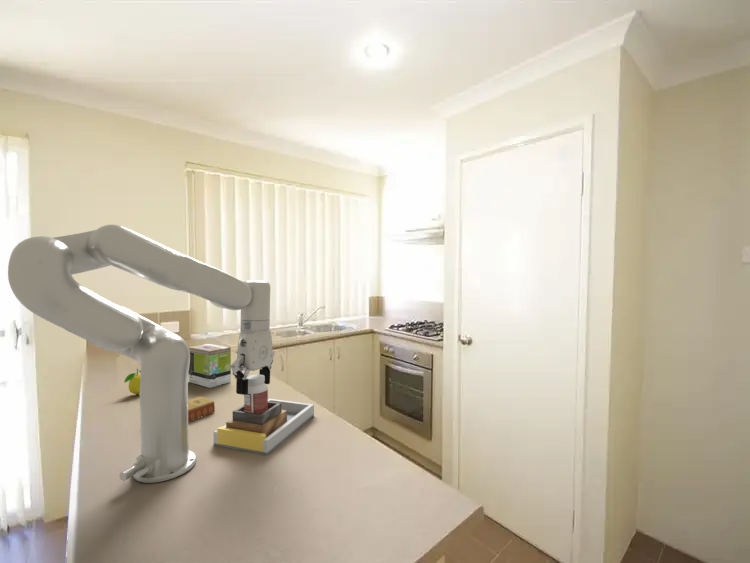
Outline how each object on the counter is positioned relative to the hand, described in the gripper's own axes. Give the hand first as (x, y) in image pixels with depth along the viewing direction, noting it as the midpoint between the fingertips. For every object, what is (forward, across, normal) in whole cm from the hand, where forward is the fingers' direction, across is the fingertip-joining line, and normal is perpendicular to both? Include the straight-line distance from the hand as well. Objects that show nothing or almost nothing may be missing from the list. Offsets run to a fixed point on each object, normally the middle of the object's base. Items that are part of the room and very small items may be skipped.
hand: (253, 388), depth 96 cm
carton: (+15, +5, +29) cm, 33 cm away
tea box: (+14, +36, +47) cm, 61 cm away
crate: (+13, +2, -1) cm, 13 cm away
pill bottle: (+8, +1, 0) cm, 8 cm away
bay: (+14, +6, -1) cm, 15 cm away
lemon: (+15, +16, +61) cm, 65 cm away
